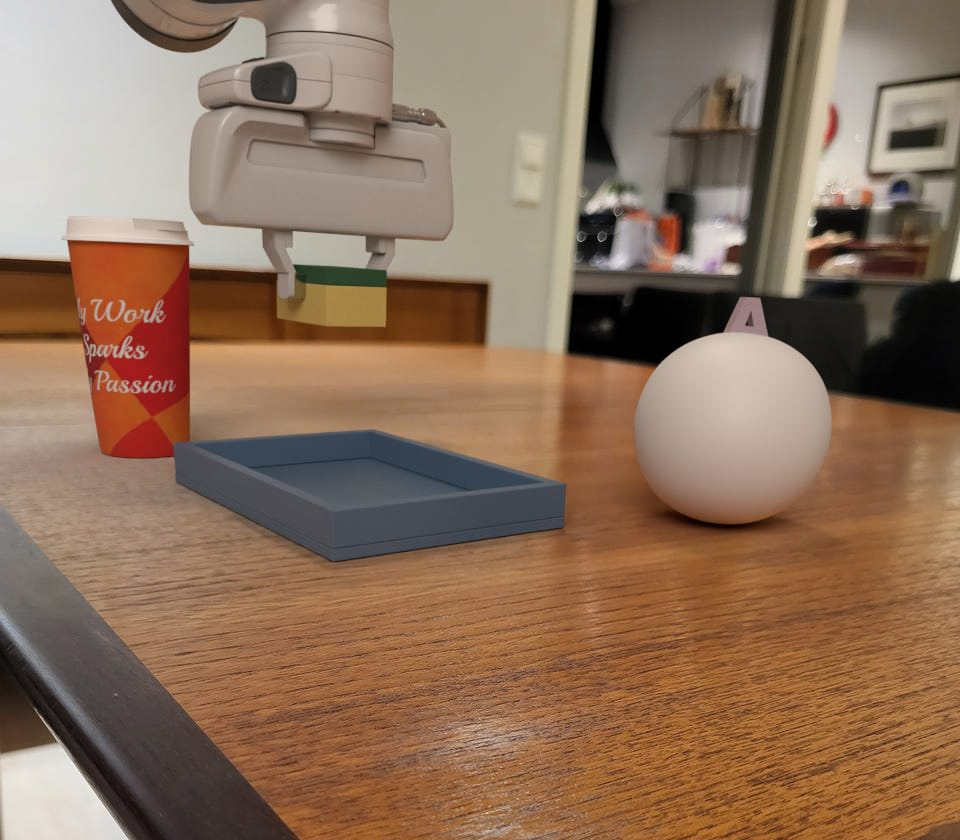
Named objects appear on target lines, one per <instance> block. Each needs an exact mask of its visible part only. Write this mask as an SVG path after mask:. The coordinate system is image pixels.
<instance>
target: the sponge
mask: <svg viewBox="0 0 960 840" xmlns="http://www.w3.org/2000/svg"><path fill="white" fill-rule="evenodd" d="M292 264H293V266H294V268H295V270H296V272H297V273H298V274H306V286H305V288H306V297H305V299H283V298H280V297H279V294H278V272H276V271H275V274H276V318H277V320H285V321H290V322H296V323H303V324H308V325H309V324H310V325H315V326H321V327H326V328H327V327H328V328H333V327H334V328H343V327H344V328H386V327H387V294H388V293H387V291H388V288H387V285H388V284H387V283H388V282H387V280H388V279H387V277H388V275H387V273H388V271H387V270H378V269H365V268H366V267H365V268H363V267H350V266H338V265H337V266H335V265H317V264H316V265H314V264H296V263H292Z"/></svg>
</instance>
